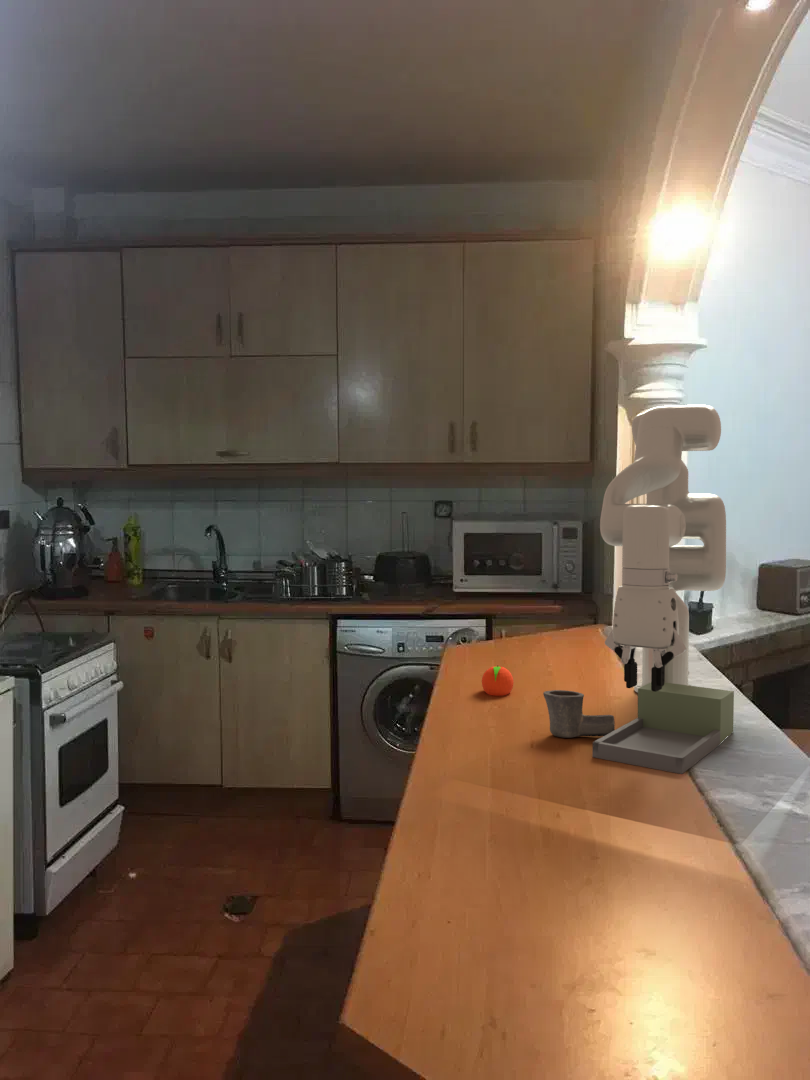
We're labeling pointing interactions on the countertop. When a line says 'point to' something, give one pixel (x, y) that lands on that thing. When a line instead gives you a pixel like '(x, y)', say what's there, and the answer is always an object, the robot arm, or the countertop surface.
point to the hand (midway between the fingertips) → (644, 687)
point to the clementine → (497, 681)
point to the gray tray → (671, 728)
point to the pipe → (574, 716)
